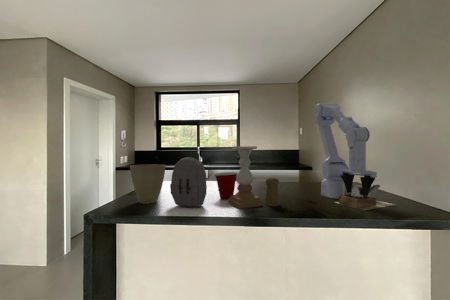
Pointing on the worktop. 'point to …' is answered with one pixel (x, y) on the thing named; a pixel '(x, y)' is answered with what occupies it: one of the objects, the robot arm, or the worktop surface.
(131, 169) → the plant pot
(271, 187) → the cork
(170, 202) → the worktop surface
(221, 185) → the plastic cup
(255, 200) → the candle holder
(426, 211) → the worktop surface
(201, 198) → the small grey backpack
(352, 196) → the steel peg
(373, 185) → the bar
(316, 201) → the worktop surface
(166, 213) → the worktop surface
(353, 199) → the socket board
